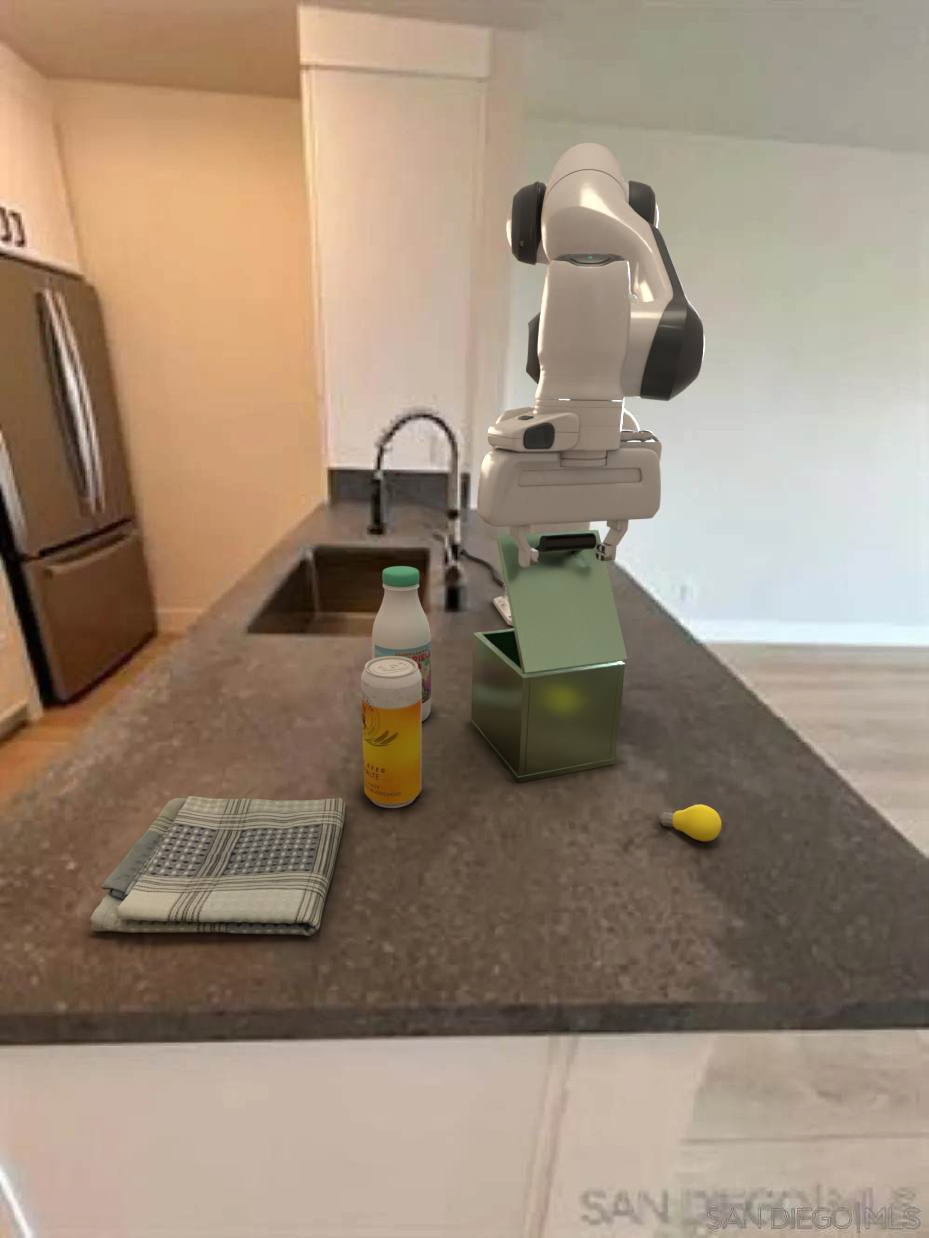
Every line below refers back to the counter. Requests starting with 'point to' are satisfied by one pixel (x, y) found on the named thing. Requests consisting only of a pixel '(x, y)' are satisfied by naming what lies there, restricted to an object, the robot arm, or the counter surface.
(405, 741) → the beer can
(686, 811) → the light bulb
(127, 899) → the dish towel
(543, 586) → the green panel
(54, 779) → the counter surface
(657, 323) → the robot arm
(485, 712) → the olive green box
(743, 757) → the counter surface
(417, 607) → the milk bottle
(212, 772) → the counter surface
